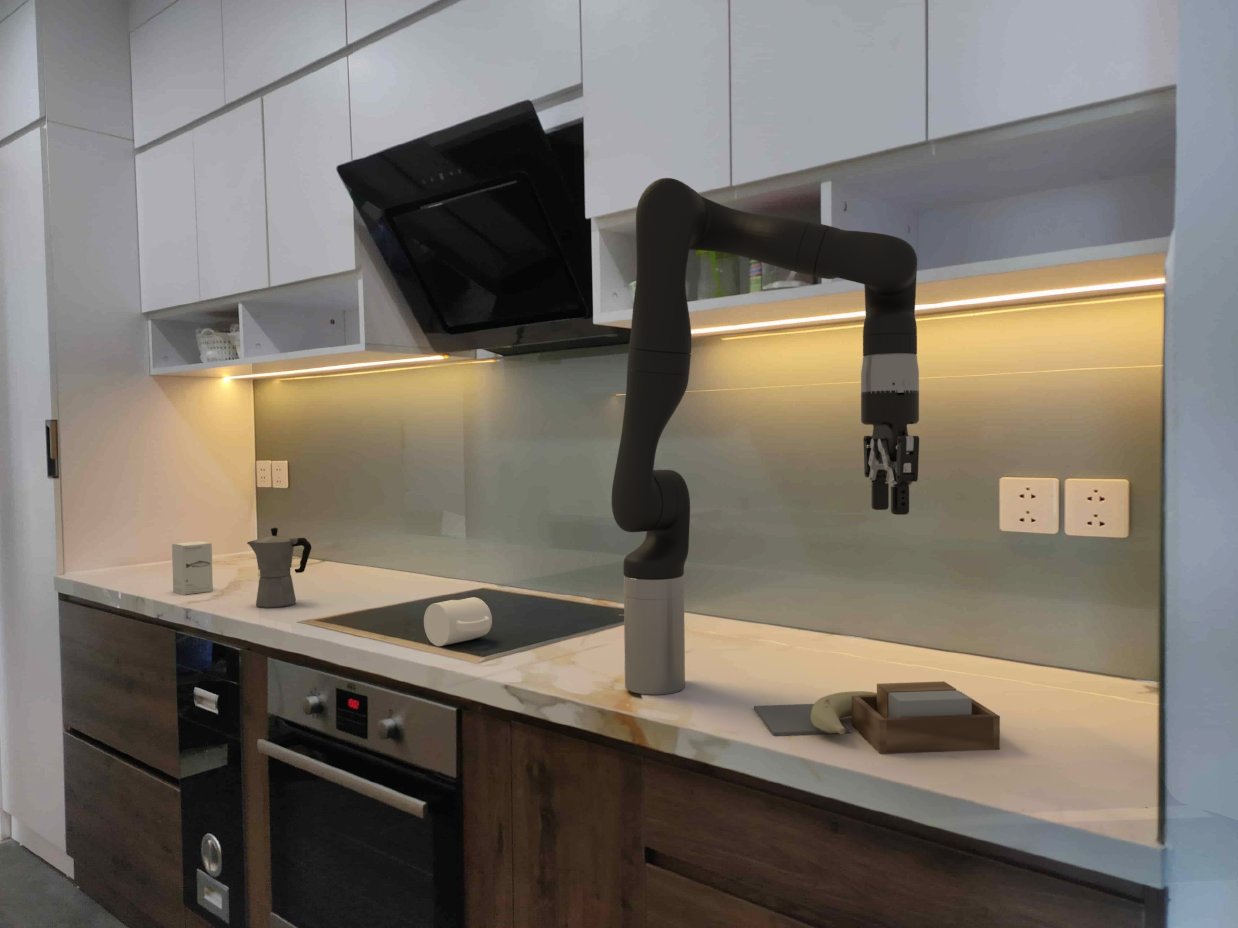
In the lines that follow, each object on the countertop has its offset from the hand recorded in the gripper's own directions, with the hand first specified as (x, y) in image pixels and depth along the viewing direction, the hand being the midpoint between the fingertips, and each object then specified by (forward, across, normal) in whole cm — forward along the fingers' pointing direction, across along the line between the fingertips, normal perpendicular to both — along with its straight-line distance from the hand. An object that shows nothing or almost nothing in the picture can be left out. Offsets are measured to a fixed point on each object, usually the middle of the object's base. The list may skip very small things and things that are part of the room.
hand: (889, 511), depth 118 cm
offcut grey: (+28, +12, 0) cm, 30 cm away
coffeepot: (+28, -93, -110) cm, 147 cm away
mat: (+28, +2, -13) cm, 31 cm away
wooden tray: (+28, +10, 0) cm, 29 cm away
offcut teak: (+28, +8, 0) cm, 29 cm away
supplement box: (+28, -113, -138) cm, 181 cm away
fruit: (+27, +2, 0) cm, 27 cm away
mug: (+28, -49, -64) cm, 85 cm away
